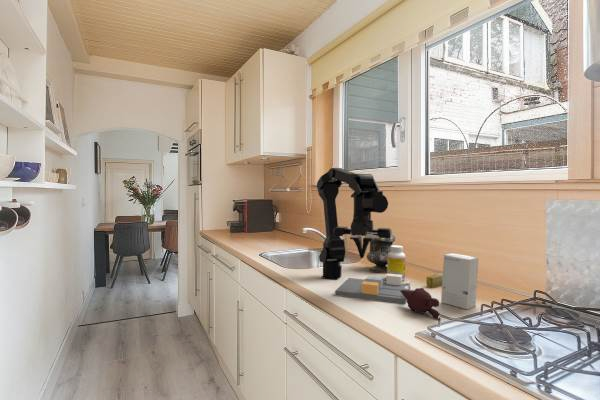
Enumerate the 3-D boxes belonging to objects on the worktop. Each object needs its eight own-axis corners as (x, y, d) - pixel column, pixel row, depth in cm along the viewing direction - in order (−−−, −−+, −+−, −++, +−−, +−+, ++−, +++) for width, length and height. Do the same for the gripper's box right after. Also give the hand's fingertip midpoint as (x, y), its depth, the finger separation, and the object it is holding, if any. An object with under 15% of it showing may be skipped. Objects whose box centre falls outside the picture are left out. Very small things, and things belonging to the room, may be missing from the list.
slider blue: (365, 287, 114) (365, 278, 114) (367, 284, 118) (367, 276, 118) (380, 289, 112) (380, 280, 112) (382, 286, 116) (382, 277, 116)
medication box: (444, 282, 129) (444, 271, 129) (451, 283, 127) (451, 272, 127) (426, 287, 122) (426, 276, 122) (433, 288, 119) (432, 277, 119)
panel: (335, 295, 111) (335, 287, 111) (348, 281, 128) (348, 274, 127) (405, 303, 103) (405, 295, 102) (410, 288, 119) (410, 280, 119)
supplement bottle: (406, 282, 128) (406, 248, 127) (387, 281, 129) (388, 247, 129) (404, 277, 134) (404, 245, 134) (387, 276, 136) (387, 244, 135)
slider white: (386, 284, 119) (386, 275, 119) (387, 281, 122) (387, 273, 122) (401, 285, 117) (401, 277, 117) (402, 283, 120) (402, 274, 120)
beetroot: (389, 284, 101) (427, 304, 87) (409, 276, 104) (448, 293, 90) (392, 305, 102) (430, 328, 89) (411, 296, 105) (451, 317, 91)
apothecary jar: (398, 269, 149) (399, 228, 148) (390, 275, 138) (390, 231, 138) (372, 266, 155) (372, 226, 155) (362, 271, 145) (362, 229, 144)
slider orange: (361, 293, 108) (361, 283, 108) (363, 290, 111) (363, 281, 111) (377, 295, 106) (377, 285, 106) (379, 292, 109) (379, 282, 109)
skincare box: (440, 302, 104) (441, 254, 103) (450, 299, 108) (451, 252, 107) (468, 310, 97) (469, 258, 97) (478, 306, 101) (479, 256, 101)
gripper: (328, 212, 109) (328, 260, 109) (388, 213, 103) (388, 264, 103) (337, 210, 120) (336, 254, 120) (391, 211, 113) (391, 258, 114)
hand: (362, 257), depth 114 cm, fingers closed
